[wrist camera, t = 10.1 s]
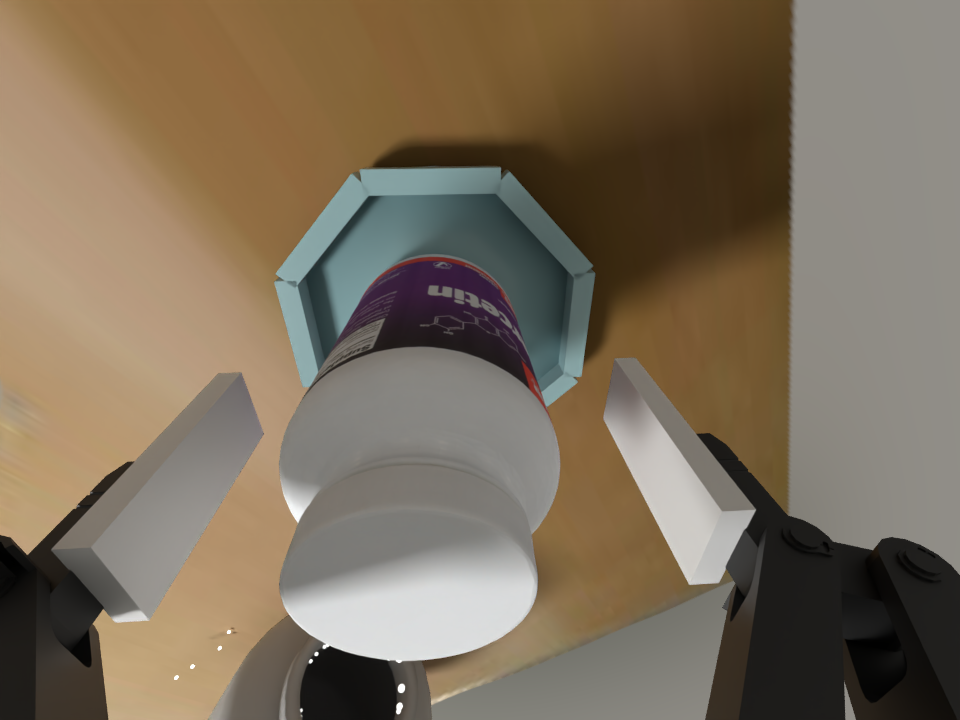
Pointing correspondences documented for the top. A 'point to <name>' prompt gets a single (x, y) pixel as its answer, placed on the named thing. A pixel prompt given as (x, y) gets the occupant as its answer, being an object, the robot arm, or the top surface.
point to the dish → (449, 231)
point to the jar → (320, 683)
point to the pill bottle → (419, 470)
